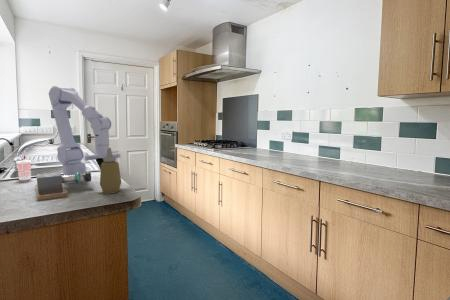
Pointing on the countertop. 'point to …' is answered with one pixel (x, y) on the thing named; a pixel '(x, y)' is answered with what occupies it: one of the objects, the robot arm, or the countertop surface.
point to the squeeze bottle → (110, 174)
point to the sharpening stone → (50, 186)
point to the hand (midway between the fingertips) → (103, 174)
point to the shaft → (77, 178)
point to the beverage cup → (24, 169)
